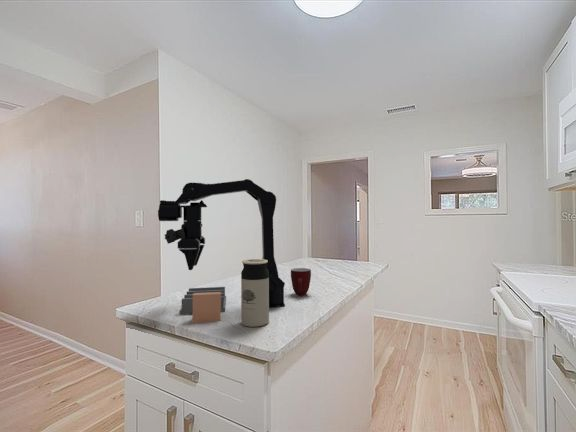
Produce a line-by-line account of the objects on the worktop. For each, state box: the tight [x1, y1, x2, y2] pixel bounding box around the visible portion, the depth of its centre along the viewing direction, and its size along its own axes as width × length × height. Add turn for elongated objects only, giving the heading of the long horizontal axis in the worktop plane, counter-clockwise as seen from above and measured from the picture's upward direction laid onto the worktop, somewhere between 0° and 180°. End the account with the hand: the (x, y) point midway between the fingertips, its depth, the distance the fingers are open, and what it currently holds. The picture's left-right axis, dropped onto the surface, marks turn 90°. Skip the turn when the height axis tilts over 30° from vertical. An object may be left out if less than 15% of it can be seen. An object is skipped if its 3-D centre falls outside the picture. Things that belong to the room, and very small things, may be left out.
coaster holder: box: [179, 286, 227, 315], centre depth 101 cm, size 14×16×5 cm
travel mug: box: [240, 258, 270, 328], centre depth 84 cm, size 8×8×18 cm
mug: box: [290, 267, 312, 297], centre depth 114 cm, size 11×8×10 cm
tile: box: [192, 292, 222, 323], centre depth 87 cm, size 8×2×8 cm, turn 100°
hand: (192, 267), depth 96 cm, fingers open, 9 cm apart
